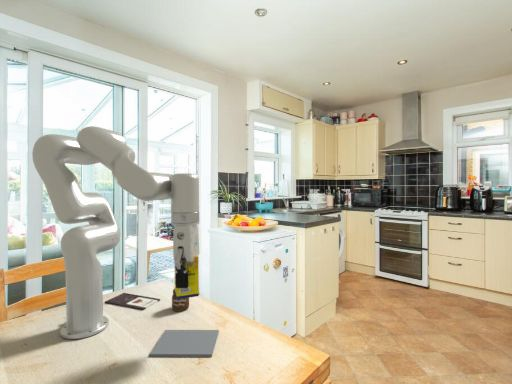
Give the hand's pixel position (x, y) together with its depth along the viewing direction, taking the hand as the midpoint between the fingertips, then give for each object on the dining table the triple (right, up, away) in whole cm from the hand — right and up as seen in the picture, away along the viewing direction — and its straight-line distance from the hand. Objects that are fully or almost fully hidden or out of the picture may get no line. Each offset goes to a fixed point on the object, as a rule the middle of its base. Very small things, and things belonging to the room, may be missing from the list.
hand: (186, 281), depth 77 cm
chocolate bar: (-27, -17, +28) cm, 43 cm away
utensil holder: (-8, -17, +22) cm, 29 cm away
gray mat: (0, -17, 0) cm, 17 cm away
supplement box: (0, -4, 0) cm, 4 cm away
